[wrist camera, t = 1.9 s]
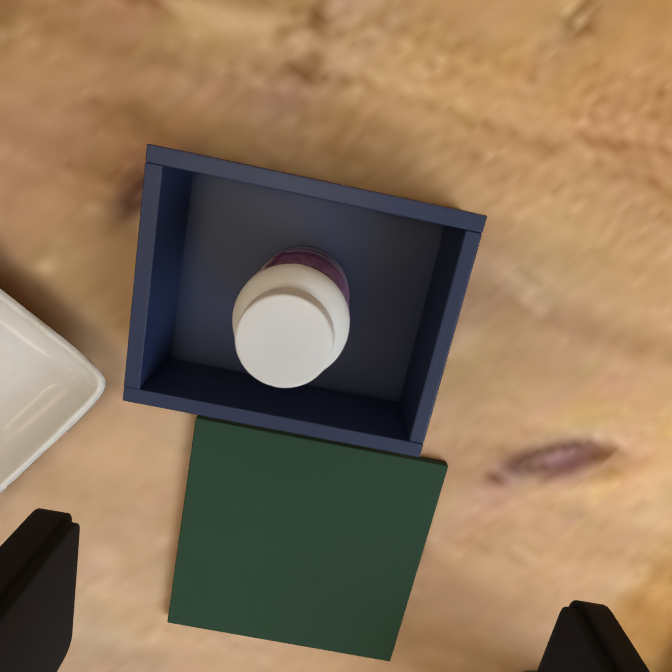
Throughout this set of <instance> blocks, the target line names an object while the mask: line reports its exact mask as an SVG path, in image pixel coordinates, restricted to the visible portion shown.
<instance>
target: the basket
mask: <svg viewBox="0 0 672 672" xmlns="http://www.w3.org/2000/svg"><path fill="white" fill-rule="evenodd" d="M486 218H487V216H486V215H481V214H477V213H473V212H468V211H464V210H460V209H455V208H450V207H445V206H441V205H436V204H431V203H427V202H422V201H417V200H413V199H408V198H403V197H398V196H394V195H389V194H384V193H380V192H375V191H370V190H366V189H361V188H356V187H351V186H347V185H342V184H337V183H333V182H328V181H323V180H318V179H314V178H309V177H304V176H300V175H295V174H290V173H286V172H281V171H276V170H271V169H267V168H262V167H257V166H253V165H248V164H243V163H239V162H234V161H229V160H224V159H220V158H215V157H210V156H206V155H201V154H196V153H191V152H187V151H182V150H177V149H172V148H167V147H162V146H157V145H152V144H147V152H146V163H145V171H144V182H143V192H142V203H141V213H140V224H139V234H138V245H137V255H136V266H135V276H134V287H133V297H132V308H131V318H130V329H129V339H128V350H127V360H126V371H125V381H124V386H125V387H124V394H123V400H124V401H129V402H134V403H139V404H145V405H150V406H155V407H160V408H166V409H171V410H176V411H181V412H186V413H192V414H197V415H202V416H207V417H212V418H218V419H223V420H228V421H233V422H238V423H244V424H249V425H254V426H259V427H265V428H270V429H275V430H280V431H285V432H291V433H296V434H301V435H306V436H311V437H317V438H322V439H327V440H332V441H338V442H343V443H348V444H353V445H358V446H364V447H369V448H374V449H379V450H384V451H390V452H395V453H400V454H405V455H411V456H416V457H420V454H421V450H422V447H423V442H424V439H425V436H426V432H427V429H428V425H429V421H430V418H431V414H432V411H433V407H434V403H435V400H436V396H437V393H438V389H439V386H440V382H441V378H442V375H443V371H444V368H445V364H446V361H447V357H448V353H449V350H450V346H451V343H452V339H453V335H454V332H455V328H456V325H457V321H458V318H459V314H460V310H461V307H462V303H463V300H464V296H465V293H466V289H467V285H468V282H469V278H470V275H471V271H472V267H473V264H474V260H475V257H476V253H477V250H478V246H479V242H480V239H481V233H482V232H483V229H484V225H485V222H486ZM294 247H310V248H314V249H318V250H320V251H322V252H324V253H326V254H328V255H329V256H330V257H332V258H333V259H334V260H335V261H336V262H337V263H338V264H339V266H340V267H341V268H342V270H343V272H344V273H345V276H346V279H347V282H348V287H349V313H350V326H349V334H348V338H347V341H346V343H345V346H344V348H343V350H342V352H341V353H340V355H339V356H338V357H337V359H336V360H335V361H334V362H333V363H332V364H331V365H330V366H329V367H327V368H326V369H324V370H323V371H322V372H321V373H320V374H319V375H318V376H317V377H316V378H315V379H313V380H312V381H310V382H308V383H306V384H304V385H301V386H297V387H292V388H279V387H274V386H271V385H267V384H265V383H263V382H261V381H259V380H257V379H256V378H254V377H253V376H252V375H251V374H250V373H249V372H248V371H247V370H246V369H245V368H244V366H243V365H242V363H241V361H240V359H239V357H238V355H237V352H236V347H235V336H234V332H233V325H232V316H233V309H234V305H235V302H236V300H237V297H238V295H239V293H240V292H241V290H242V288H243V287H244V286H245V285H246V283H247V282H248V281H249V280H250V279H251V278H252V277H253V276H254V275H255V274H256V273H257V272H258V271H259V270H260V269H261V268H262V267H263V265H265V264H266V263H267V262H268V261H269V260H270V259H271V258H272V257H274V256H275V255H276V254H278V253H280V252H281V251H284V250H286V249H290V248H294Z"/></svg>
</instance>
